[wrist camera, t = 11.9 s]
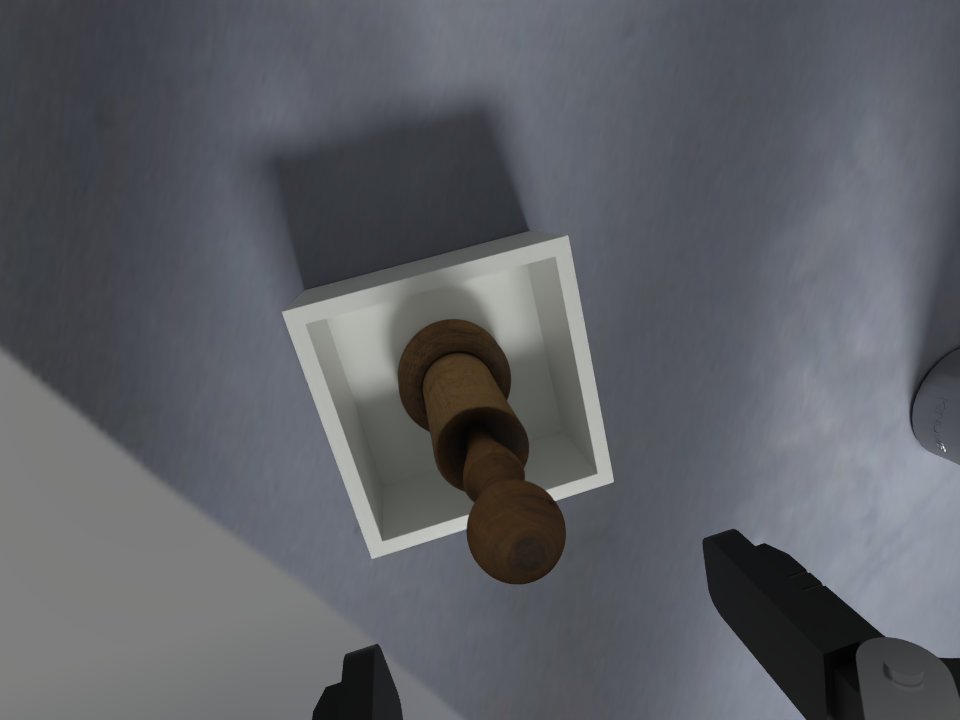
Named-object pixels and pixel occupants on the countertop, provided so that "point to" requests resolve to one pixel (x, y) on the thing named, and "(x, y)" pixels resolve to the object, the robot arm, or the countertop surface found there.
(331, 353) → the box
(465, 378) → the mortar and pestle
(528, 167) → the countertop surface
